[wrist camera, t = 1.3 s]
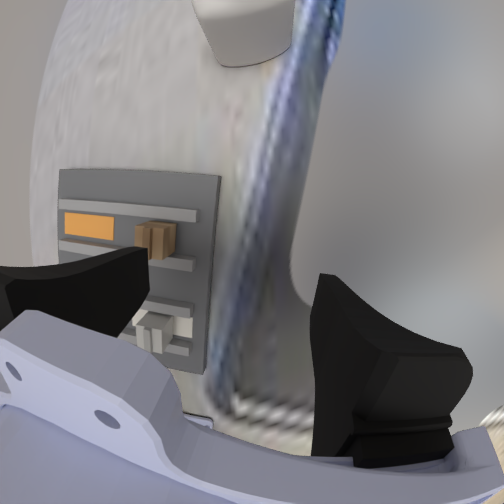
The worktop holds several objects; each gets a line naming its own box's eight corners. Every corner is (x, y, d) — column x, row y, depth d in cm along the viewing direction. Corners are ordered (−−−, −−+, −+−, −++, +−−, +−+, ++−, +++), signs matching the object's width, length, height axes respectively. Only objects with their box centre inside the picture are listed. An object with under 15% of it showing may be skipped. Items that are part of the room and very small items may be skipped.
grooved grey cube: (172, 337, 22) (160, 356, 19) (149, 332, 22) (135, 350, 19) (172, 315, 21) (159, 333, 19) (148, 310, 21) (133, 327, 19)
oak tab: (174, 251, 20) (159, 262, 17) (149, 247, 20) (131, 257, 17) (176, 223, 20) (161, 229, 17) (150, 220, 20) (132, 226, 17)
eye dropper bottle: (222, 22, 17) (183, -79, 6) (293, 30, 17) (305, -77, 6) (210, 66, 18) (152, -27, 7) (284, 76, 18) (293, -26, 7)
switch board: (205, 367, 24) (200, 381, 22) (74, 333, 25) (63, 343, 23) (221, 176, 20) (215, 175, 18) (67, 169, 21) (52, 169, 19)
